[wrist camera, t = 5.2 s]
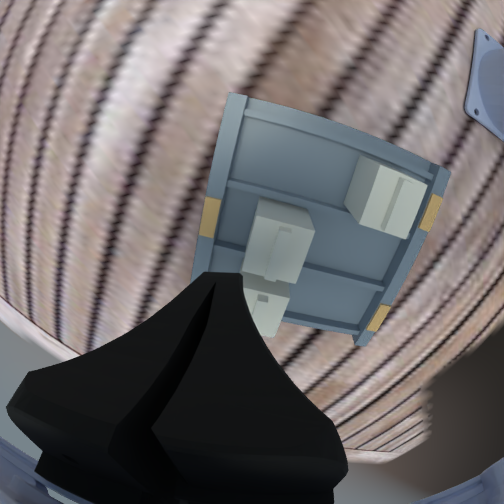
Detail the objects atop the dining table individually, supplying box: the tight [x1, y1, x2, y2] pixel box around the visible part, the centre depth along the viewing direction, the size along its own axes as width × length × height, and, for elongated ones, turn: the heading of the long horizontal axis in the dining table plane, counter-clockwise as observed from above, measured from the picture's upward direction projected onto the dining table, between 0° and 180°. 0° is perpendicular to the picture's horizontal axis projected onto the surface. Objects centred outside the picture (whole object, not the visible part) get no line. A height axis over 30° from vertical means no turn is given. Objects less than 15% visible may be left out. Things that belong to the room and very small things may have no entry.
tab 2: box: [239, 258, 290, 338], centre depth 18 cm, size 3×3×4 cm
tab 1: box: [242, 196, 315, 284], centre depth 16 cm, size 3×3×4 cm
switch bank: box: [190, 92, 451, 346], centre depth 18 cm, size 14×14×2 cm
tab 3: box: [343, 155, 428, 239], centre depth 14 cm, size 3×3×4 cm
